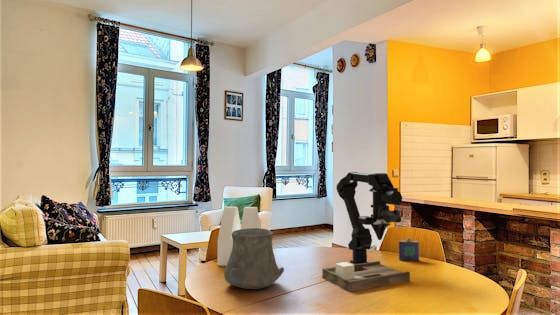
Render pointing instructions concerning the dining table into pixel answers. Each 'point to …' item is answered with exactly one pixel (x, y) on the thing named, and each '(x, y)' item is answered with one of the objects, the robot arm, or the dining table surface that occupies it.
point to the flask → (408, 250)
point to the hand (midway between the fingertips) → (379, 239)
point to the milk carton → (234, 229)
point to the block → (345, 270)
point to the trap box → (366, 276)
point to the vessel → (252, 259)
